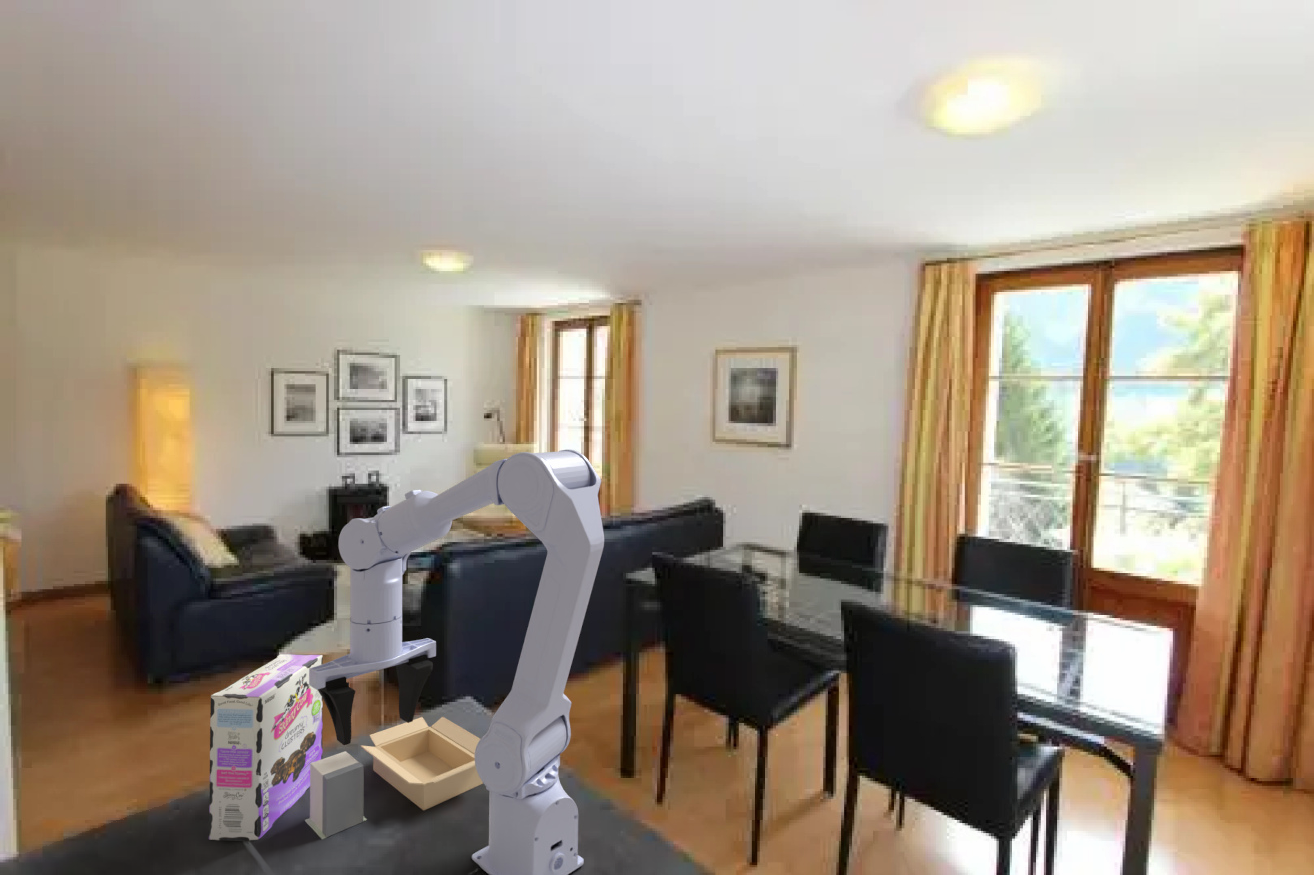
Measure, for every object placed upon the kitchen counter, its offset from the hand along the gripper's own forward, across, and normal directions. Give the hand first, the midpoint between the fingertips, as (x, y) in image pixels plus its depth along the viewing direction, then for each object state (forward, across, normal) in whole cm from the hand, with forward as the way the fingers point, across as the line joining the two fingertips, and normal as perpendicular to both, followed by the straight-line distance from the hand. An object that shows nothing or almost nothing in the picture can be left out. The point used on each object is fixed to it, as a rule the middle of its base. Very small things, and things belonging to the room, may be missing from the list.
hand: (376, 730), depth 79 cm
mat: (+10, +4, -1) cm, 11 cm away
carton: (+10, -8, -2) cm, 13 cm away
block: (+9, +4, -1) cm, 10 cm away
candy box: (+10, +8, -10) cm, 16 cm away
